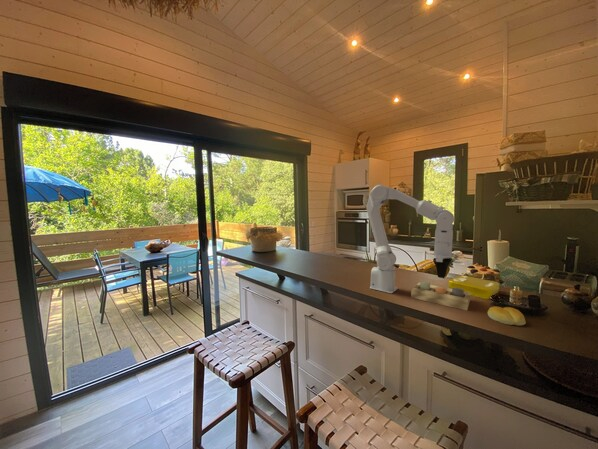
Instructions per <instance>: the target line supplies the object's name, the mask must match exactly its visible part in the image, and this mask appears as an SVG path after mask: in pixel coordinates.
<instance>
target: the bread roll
mask: <svg viewBox="0 0 598 449" xmlns="http://www.w3.org/2000/svg"><path fill="white" fill-rule="evenodd" d="M487 316H488V318H490V319H492V320H493V321H495V322H498V323H501V324H504V325H511V326H516V327H517V326H524V325H526V323H527V322H526V317H525V316H524V314H523V313H522V312H521V311H520V310H519V309H517V308H514V307H510V306H505V307H501V306H495V305H494V306H491V307H489V309H488V310H487Z"/></svg>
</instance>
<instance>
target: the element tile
mask: <svg viewBox="0 0 598 449" xmlns="http://www.w3.org/2000/svg"><path fill="white" fill-rule="evenodd" d="M447 288H450V289H452V288H460V289H463V290H464V291H466V292H471V295H470V297H471V296H472V297H476V298H479V297H480V298H481V299H484V300H491V299H490V297H491V296H492V295H494V294H496V293H498V292H499V290H500V283H499V282H498V281H494V280H488V279H483V278H480V277H479V278H477V277H473V276H468V275H462V274H460V275H459V274H458V275H457V276H455V277H453V278H451V279H449V280H448V287H447ZM498 294H499V293H498Z"/></svg>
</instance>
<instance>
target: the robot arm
mask: <svg viewBox="0 0 598 449" xmlns="http://www.w3.org/2000/svg"><path fill="white" fill-rule="evenodd" d="M368 196H369V197H368V200H367V204H366V208H365V209H366V212H367V216H368V219H369V223H370V228H371V231H372V235H373V237H374V242H375V245H376V257H377V258H376V265H377V266H373V267H372V268H371V271H370V286H369V289H371V290H374V291H375V290H376V291H380V292H384V293H388V294H393V293H395V291H397V290H398V289H399V287H397V286H395V285H396V267H395V263H396V262H397V256H396V255H395V253H394V252H393V250H392V248H391V246H390V244H389V240H388V236H387V233H386V230H385V226H384V222H383V218H382V214H381V211H380V209H381V207H382V205H383V204H384V203H386V202H387V201H388V200H397V201H400V202H401V203H404V204H406V205H408V206H411V207H412V208H414V209H415V211H416V214H419V215H421V216H422V217H424V218H427V219H428V220H431V221H435V222H436V225H435V226H436V228H435V232H434V249H433V250H434V251H433V256H434V258H432V260H433V263H434V265H435V266H434V267H435V268H436V274H437V278H439V279H445V278H446V275H447V272H448V268H449V266H450V264H451V262H452V258H456V254H452V253H453V236H454V230H453V228H454V225H453V223H454V222H455V216H454V214H453V213H452V212H451V211H449V210H448V209H445V207H444V206H439V205H437V204H435V203H433V202H432V200H430V199H428V200H426V199H423V200H419V199H416V198H414V197H412V196H410V195H408V194H406V193H404V192H403V191H402V190H399V189H396V188H392V187H390V186H386V185H383V184H376V185H375V186H373V188H372V189H371V190H370V192H369V194H368Z"/></svg>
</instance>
